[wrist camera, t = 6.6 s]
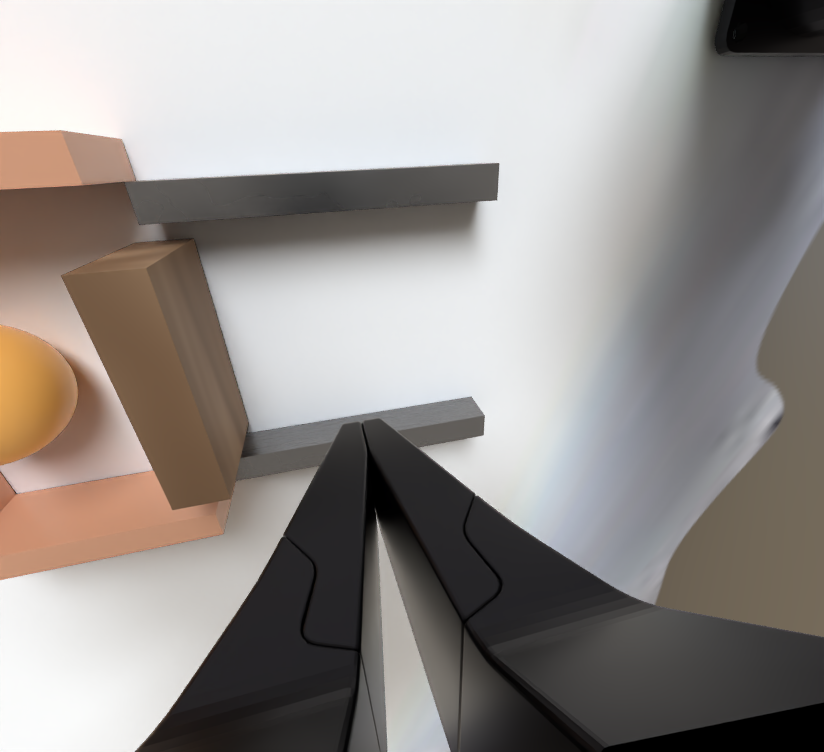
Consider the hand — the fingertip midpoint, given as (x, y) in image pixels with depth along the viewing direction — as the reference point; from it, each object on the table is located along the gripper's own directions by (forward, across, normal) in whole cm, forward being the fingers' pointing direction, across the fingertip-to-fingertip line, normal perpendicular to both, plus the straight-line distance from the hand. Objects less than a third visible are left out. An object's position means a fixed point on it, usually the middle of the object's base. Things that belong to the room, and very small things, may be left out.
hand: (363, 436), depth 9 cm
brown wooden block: (+7, +5, 0) cm, 8 cm away
